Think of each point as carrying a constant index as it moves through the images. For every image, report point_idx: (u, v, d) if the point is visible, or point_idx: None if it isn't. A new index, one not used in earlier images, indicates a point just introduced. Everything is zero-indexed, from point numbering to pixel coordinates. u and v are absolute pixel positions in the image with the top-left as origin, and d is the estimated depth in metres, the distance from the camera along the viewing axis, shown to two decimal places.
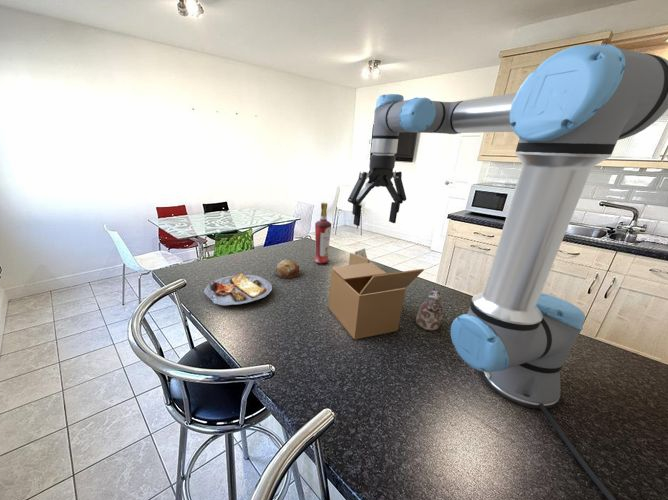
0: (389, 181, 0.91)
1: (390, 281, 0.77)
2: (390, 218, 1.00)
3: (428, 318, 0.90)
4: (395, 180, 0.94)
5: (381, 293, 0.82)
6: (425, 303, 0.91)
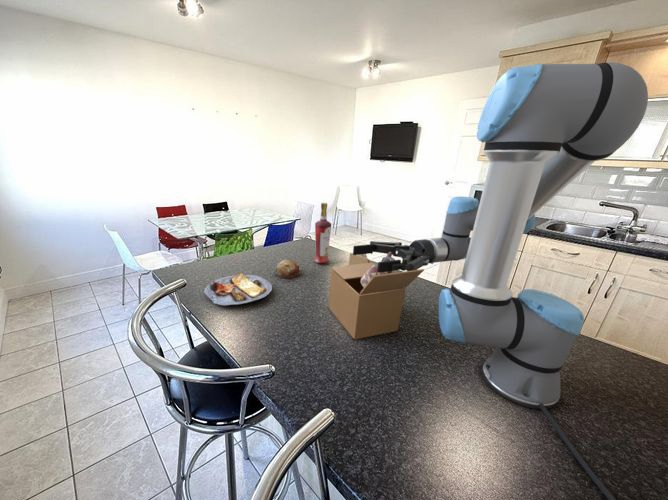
0: (411, 250, 0.84)
1: (390, 281, 0.77)
2: None
3: None
4: None
5: (381, 293, 0.82)
6: (377, 267, 0.82)
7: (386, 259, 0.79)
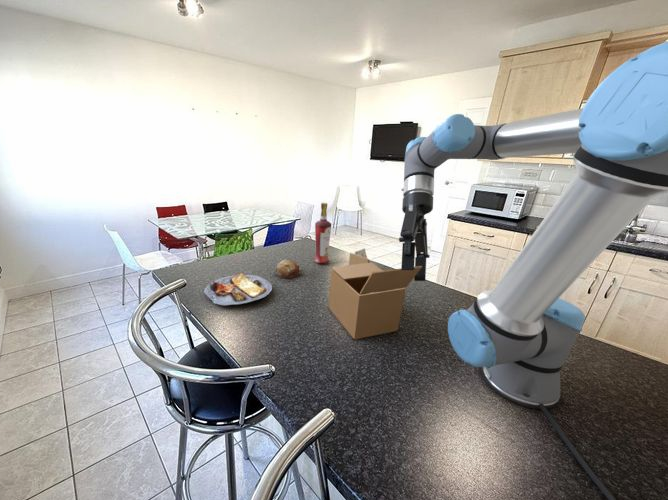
0: (425, 226, 0.77)
1: (389, 279, 0.77)
2: (416, 276, 0.80)
3: None
4: None
5: (381, 293, 0.82)
6: None
7: None
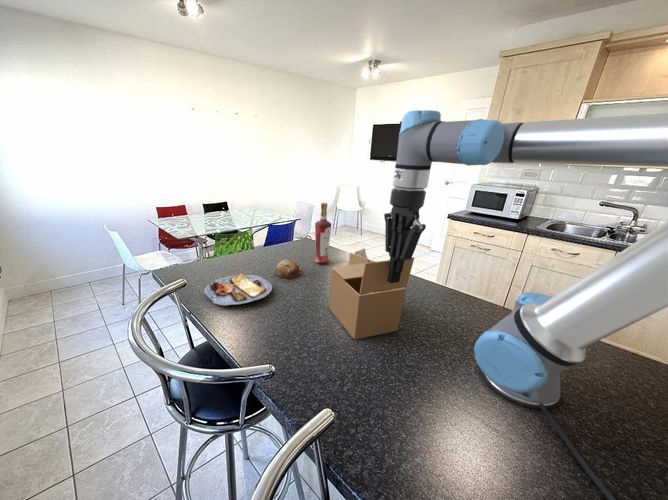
0: None
1: (385, 274, 0.78)
2: None
3: None
4: (390, 223, 0.74)
5: (381, 293, 0.82)
6: None
7: None
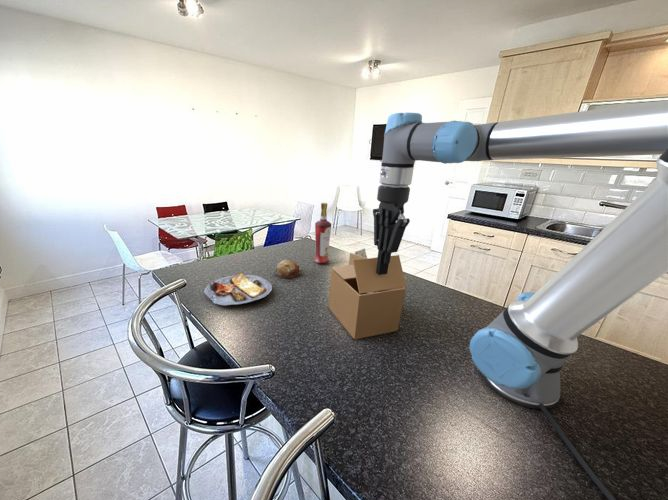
0: None
1: None
2: None
3: None
4: (378, 218, 0.79)
5: (381, 293, 0.82)
6: None
7: None
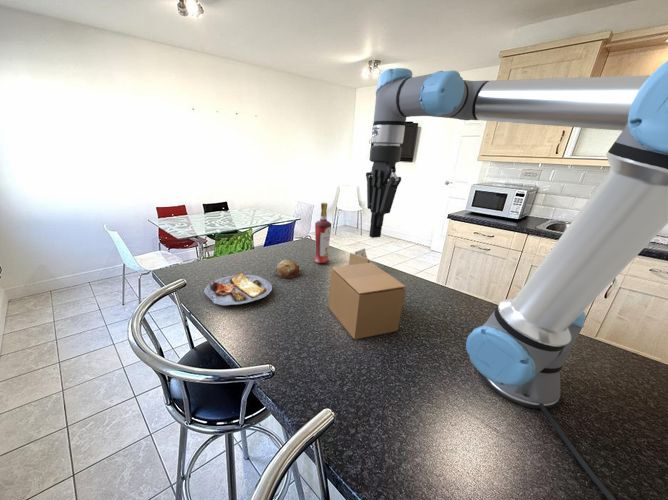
0: None
1: (370, 281, 0.86)
2: None
3: None
4: (371, 181, 0.80)
5: (381, 293, 0.82)
6: None
7: None
